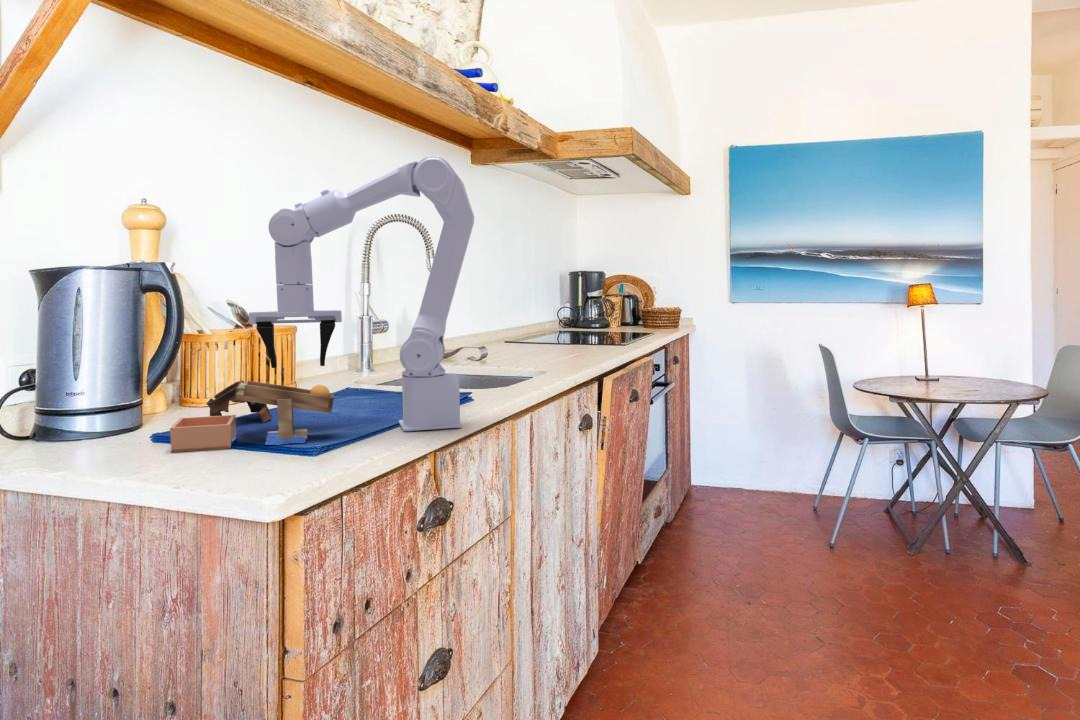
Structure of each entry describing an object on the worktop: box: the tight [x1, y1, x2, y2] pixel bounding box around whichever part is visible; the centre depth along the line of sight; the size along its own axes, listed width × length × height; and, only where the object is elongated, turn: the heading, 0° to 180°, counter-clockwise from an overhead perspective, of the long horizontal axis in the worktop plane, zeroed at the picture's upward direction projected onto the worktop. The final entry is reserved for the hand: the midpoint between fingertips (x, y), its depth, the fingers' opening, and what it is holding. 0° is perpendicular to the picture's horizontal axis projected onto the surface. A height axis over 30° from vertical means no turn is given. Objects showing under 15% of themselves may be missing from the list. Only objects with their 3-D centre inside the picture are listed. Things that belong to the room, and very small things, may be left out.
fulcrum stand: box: [267, 399, 308, 439], centre depth 113 cm, size 6×8×7 cm
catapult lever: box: [235, 380, 335, 414], centre depth 115 cm, size 14×11×2 cm
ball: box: [310, 384, 331, 397], centre depth 114 cm, size 3×3×3 cm
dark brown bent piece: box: [206, 379, 272, 423], centre depth 129 cm, size 12×9×8 cm
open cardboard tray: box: [169, 414, 237, 454], centre depth 110 cm, size 8×8×4 cm
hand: (298, 366), depth 121 cm, fingers open, 7 cm apart
